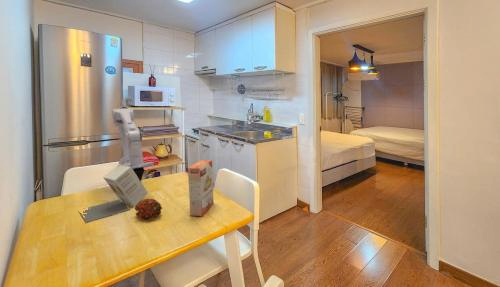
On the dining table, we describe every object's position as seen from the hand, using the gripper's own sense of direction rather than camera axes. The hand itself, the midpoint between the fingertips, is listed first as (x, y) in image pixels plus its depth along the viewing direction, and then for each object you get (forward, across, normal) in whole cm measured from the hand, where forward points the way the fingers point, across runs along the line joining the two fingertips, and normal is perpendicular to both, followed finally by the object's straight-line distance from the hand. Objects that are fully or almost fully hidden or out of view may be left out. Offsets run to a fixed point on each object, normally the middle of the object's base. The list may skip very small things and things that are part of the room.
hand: (139, 183), depth 121 cm
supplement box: (+7, -2, +1) cm, 7 cm away
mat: (+9, -16, +2) cm, 18 cm away
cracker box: (+10, +16, -30) cm, 35 cm away
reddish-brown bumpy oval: (+10, -4, -20) cm, 22 cm away
